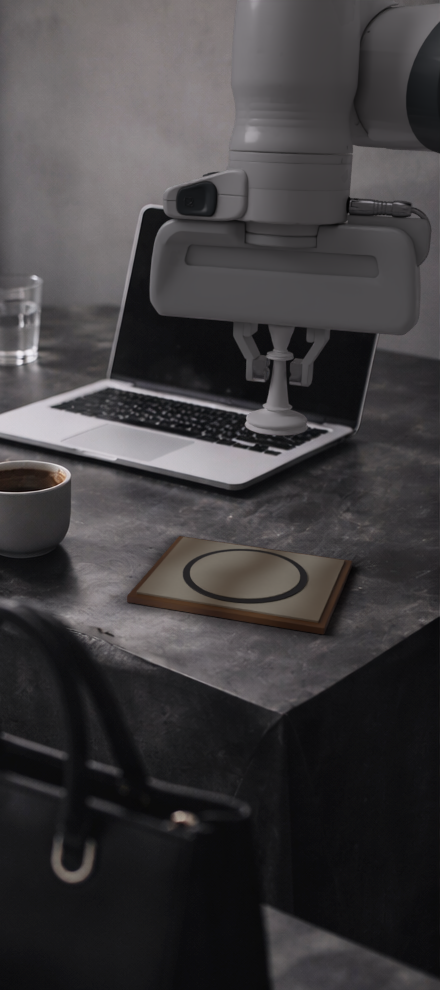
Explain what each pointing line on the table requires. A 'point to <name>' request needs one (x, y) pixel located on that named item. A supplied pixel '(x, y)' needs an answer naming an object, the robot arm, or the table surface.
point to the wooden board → (245, 584)
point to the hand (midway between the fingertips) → (278, 382)
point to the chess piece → (278, 392)
